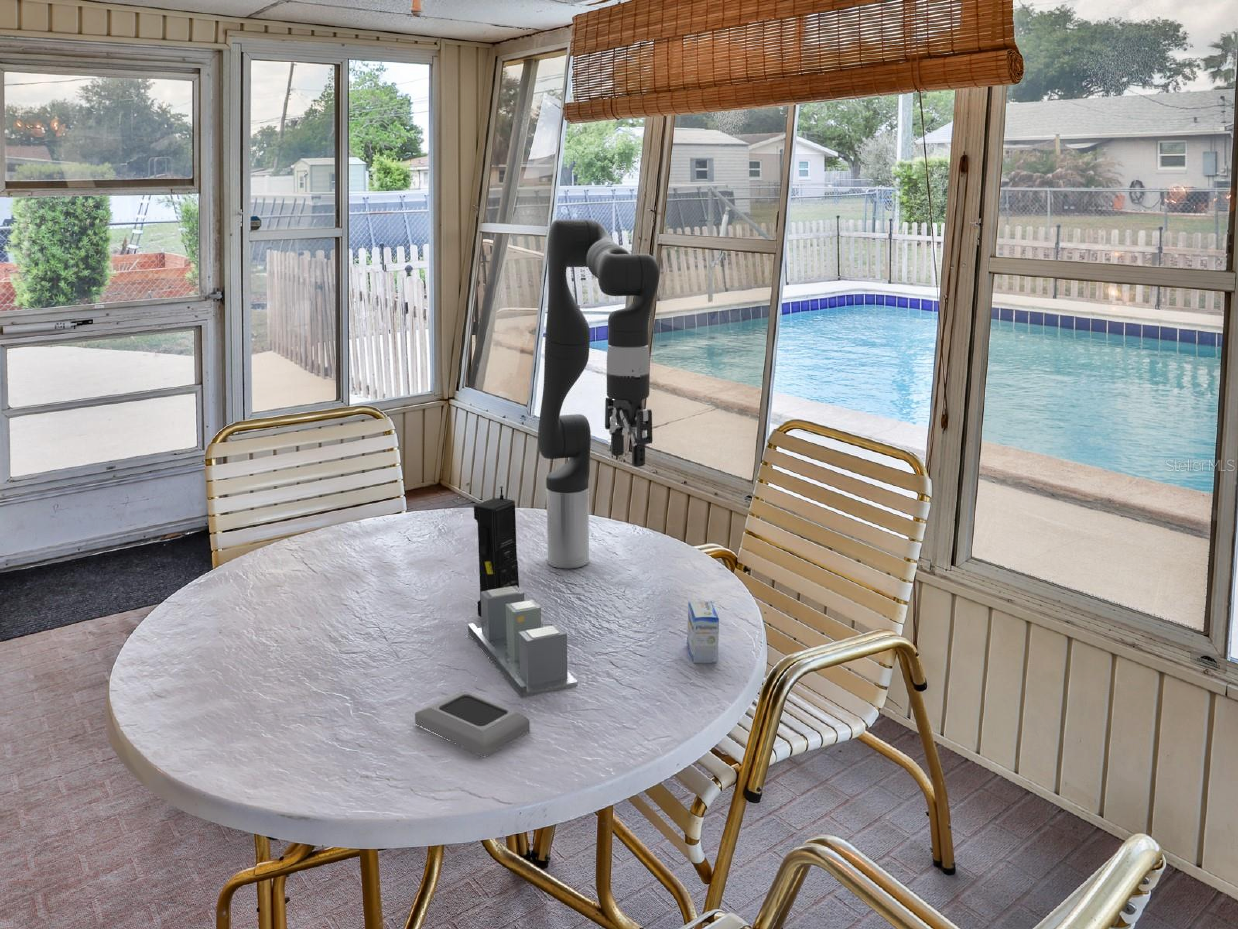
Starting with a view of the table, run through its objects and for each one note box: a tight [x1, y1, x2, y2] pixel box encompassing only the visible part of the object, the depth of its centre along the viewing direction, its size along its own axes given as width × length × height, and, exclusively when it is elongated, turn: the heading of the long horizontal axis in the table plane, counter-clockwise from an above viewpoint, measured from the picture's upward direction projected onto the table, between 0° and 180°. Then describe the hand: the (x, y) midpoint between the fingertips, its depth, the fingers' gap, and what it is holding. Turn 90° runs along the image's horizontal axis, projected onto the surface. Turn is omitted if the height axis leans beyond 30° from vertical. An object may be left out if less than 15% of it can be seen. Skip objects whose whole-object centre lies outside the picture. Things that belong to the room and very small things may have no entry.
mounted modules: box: [480, 586, 568, 686], centre depth 180 cm, size 24×7×8 cm, turn 26°
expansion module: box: [506, 599, 542, 661], centre depth 180 cm, size 4×5×9 cm
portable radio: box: [473, 486, 520, 618], centre depth 197 cm, size 8×6×25 cm
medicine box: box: [686, 600, 720, 664], centre depth 182 cm, size 8×4×9 cm, turn 5°
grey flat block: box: [414, 689, 531, 757], centre depth 157 cm, size 10×4×15 cm
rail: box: [467, 622, 579, 699], centre depth 181 cm, size 28×10×2 cm, turn 26°
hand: (627, 460), depth 184 cm, fingers open, 8 cm apart
